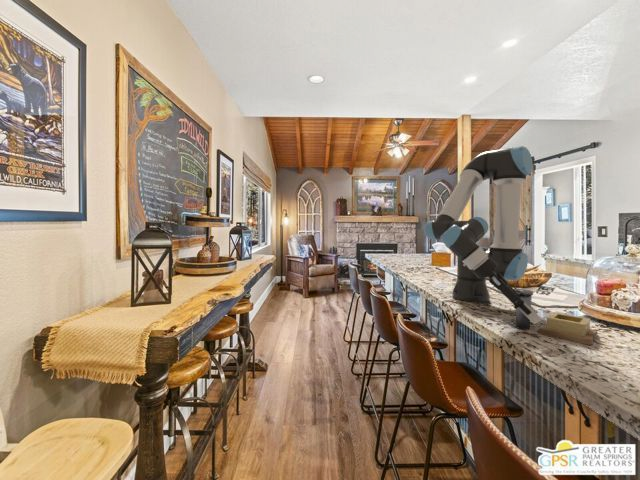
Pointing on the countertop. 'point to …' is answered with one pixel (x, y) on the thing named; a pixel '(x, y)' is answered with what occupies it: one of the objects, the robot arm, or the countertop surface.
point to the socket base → (570, 335)
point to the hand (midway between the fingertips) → (535, 318)
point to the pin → (521, 319)
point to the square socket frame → (568, 324)
